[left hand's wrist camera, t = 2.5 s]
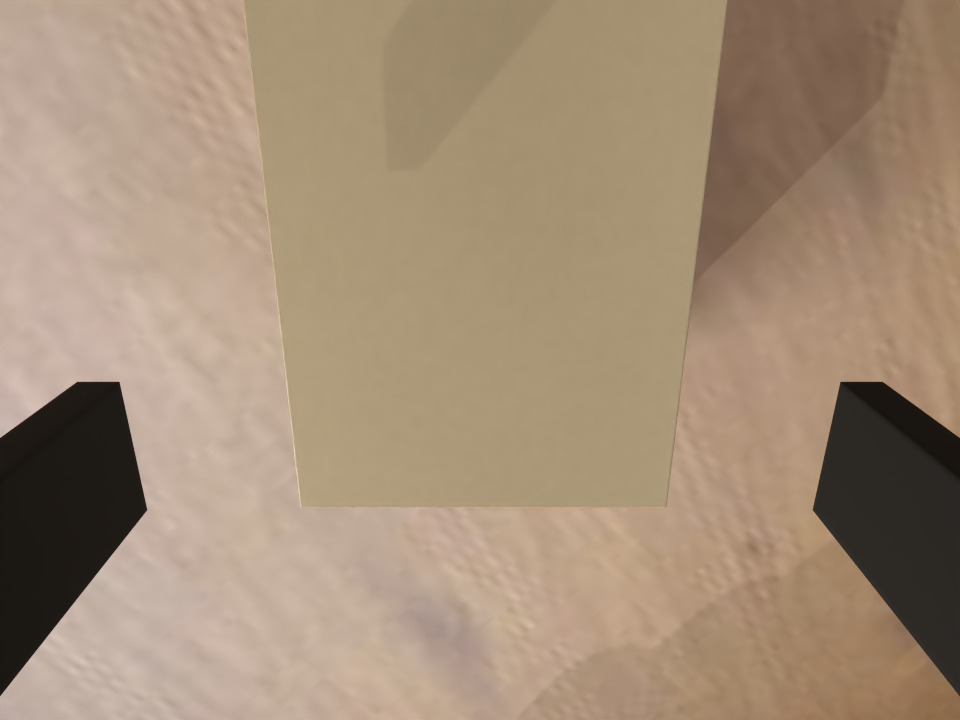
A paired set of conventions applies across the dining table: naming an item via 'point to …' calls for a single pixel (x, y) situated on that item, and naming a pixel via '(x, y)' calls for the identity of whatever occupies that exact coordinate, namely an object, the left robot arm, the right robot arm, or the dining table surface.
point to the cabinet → (484, 241)
